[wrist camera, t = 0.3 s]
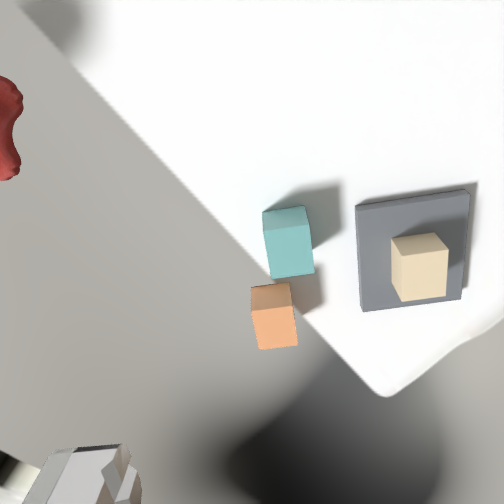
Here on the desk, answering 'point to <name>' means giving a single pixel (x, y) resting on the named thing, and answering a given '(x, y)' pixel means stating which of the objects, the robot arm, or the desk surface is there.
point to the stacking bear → (9, 128)
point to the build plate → (405, 224)
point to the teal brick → (288, 242)
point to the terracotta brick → (273, 316)
